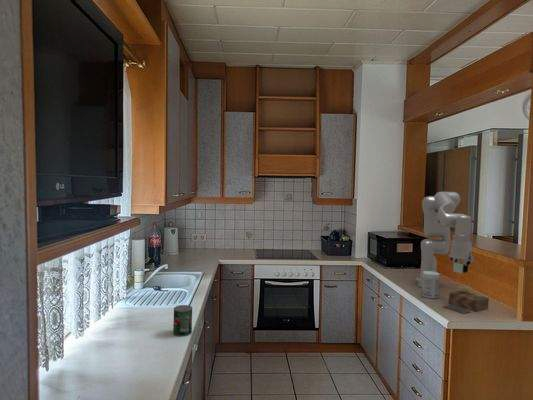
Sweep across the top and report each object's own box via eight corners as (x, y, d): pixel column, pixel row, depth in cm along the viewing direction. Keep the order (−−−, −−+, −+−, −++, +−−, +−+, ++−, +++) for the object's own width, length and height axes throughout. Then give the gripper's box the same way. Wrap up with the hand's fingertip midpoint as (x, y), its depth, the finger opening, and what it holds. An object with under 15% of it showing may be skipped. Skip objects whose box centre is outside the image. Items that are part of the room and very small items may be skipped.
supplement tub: (433, 294, 244) (435, 270, 243) (441, 299, 235) (443, 274, 234) (418, 294, 244) (419, 270, 243) (425, 299, 234) (427, 274, 233)
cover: (453, 271, 216) (453, 260, 216) (458, 270, 219) (458, 260, 218) (461, 273, 212) (462, 262, 212) (467, 272, 215) (467, 261, 214)
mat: (443, 307, 220) (443, 306, 220) (450, 305, 223) (450, 304, 223) (463, 314, 210) (463, 313, 210) (471, 312, 213) (471, 311, 213)
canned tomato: (169, 333, 171) (169, 308, 170) (183, 327, 177) (184, 303, 177) (181, 338, 166) (181, 312, 166) (195, 332, 172) (196, 308, 172)
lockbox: (448, 303, 228) (449, 292, 227) (460, 300, 234) (461, 290, 234) (476, 311, 214) (476, 300, 214) (488, 308, 221) (488, 297, 220)
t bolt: (457, 291, 231) (457, 285, 230) (463, 289, 234) (463, 284, 234) (469, 294, 225) (469, 289, 225) (474, 292, 228) (475, 287, 228)
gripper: (443, 236, 219) (441, 268, 220) (473, 241, 205) (471, 275, 206) (451, 235, 223) (449, 267, 224) (481, 240, 209) (479, 274, 210)
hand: (460, 270), depth 215 cm, fingers closed on cover, 5 cm apart
